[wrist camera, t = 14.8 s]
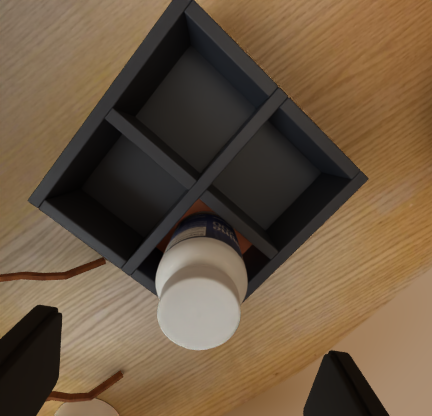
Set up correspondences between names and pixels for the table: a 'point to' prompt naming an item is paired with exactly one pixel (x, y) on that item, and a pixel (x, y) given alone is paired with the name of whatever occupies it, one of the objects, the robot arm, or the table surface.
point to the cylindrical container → (86, 409)
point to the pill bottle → (201, 283)
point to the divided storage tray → (195, 155)
